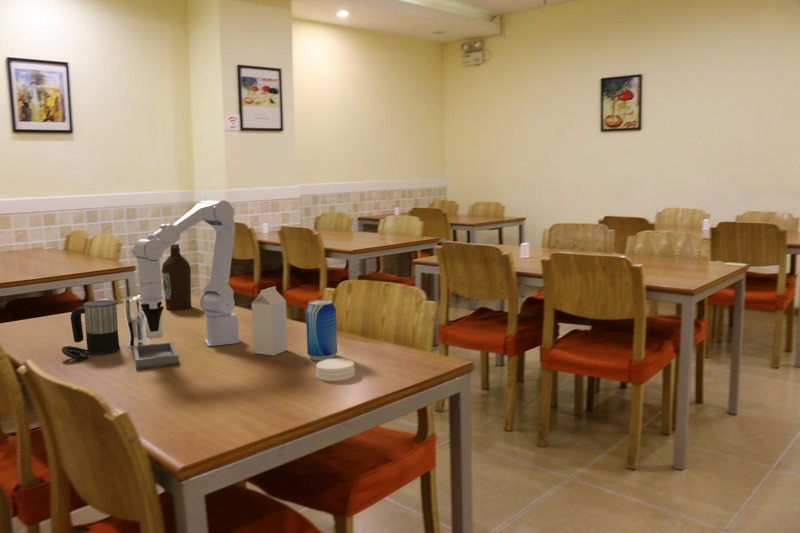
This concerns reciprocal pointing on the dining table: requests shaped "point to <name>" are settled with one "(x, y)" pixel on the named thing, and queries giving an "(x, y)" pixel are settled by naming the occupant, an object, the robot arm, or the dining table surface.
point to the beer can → (321, 330)
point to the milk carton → (269, 323)
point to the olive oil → (177, 280)
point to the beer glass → (135, 321)
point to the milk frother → (95, 329)
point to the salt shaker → (156, 333)
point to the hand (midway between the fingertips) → (153, 329)
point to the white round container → (335, 369)
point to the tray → (155, 355)
